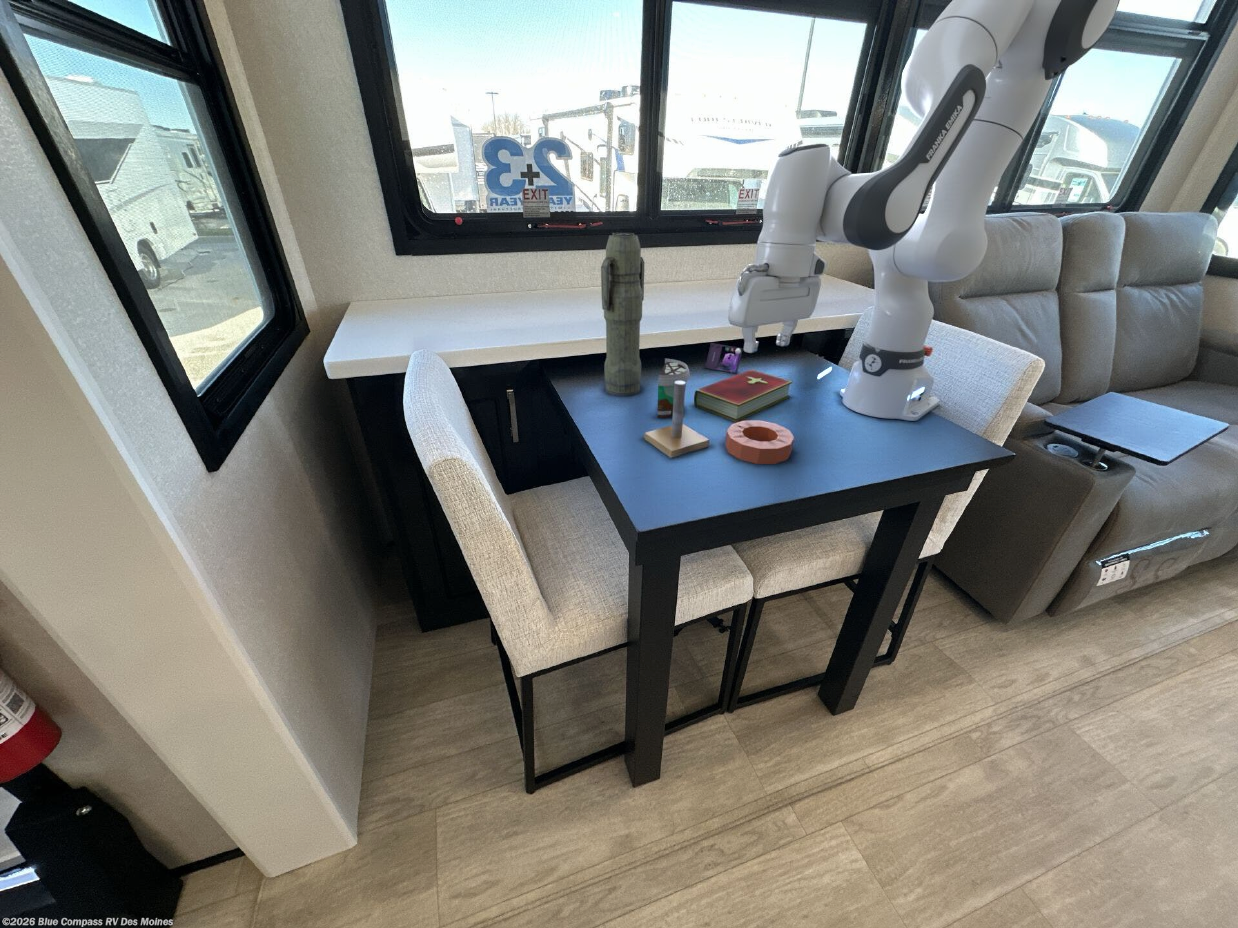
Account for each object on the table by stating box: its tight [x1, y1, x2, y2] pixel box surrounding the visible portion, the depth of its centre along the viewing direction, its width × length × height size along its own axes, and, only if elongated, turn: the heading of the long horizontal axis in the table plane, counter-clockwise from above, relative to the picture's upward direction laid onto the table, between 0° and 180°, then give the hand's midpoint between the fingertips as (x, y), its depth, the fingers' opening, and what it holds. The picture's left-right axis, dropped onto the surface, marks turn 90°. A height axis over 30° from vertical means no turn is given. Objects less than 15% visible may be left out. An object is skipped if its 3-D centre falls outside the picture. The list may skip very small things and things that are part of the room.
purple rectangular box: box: [705, 342, 744, 374], centre depth 133 cm, size 7×5×9 cm
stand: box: [644, 381, 710, 459], centre depth 92 cm, size 9×9×12 cm
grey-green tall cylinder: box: [600, 232, 645, 397], centre depth 111 cm, size 9×12×35 cm
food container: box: [656, 358, 691, 419], centre depth 106 cm, size 12×6×10 cm, turn 168°
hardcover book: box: [693, 369, 793, 423], centre depth 112 cm, size 12×21×4 cm, turn 132°
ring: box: [724, 419, 795, 465], centre depth 92 cm, size 12×12×3 cm
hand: (766, 348), depth 84 cm, fingers open, 8 cm apart
